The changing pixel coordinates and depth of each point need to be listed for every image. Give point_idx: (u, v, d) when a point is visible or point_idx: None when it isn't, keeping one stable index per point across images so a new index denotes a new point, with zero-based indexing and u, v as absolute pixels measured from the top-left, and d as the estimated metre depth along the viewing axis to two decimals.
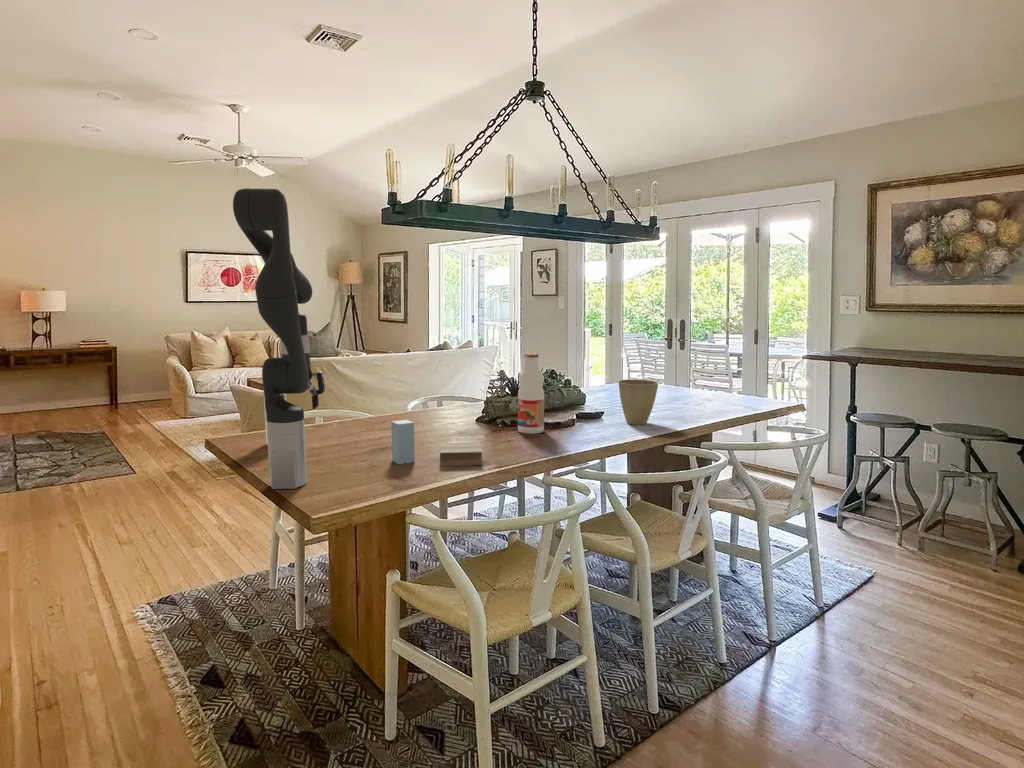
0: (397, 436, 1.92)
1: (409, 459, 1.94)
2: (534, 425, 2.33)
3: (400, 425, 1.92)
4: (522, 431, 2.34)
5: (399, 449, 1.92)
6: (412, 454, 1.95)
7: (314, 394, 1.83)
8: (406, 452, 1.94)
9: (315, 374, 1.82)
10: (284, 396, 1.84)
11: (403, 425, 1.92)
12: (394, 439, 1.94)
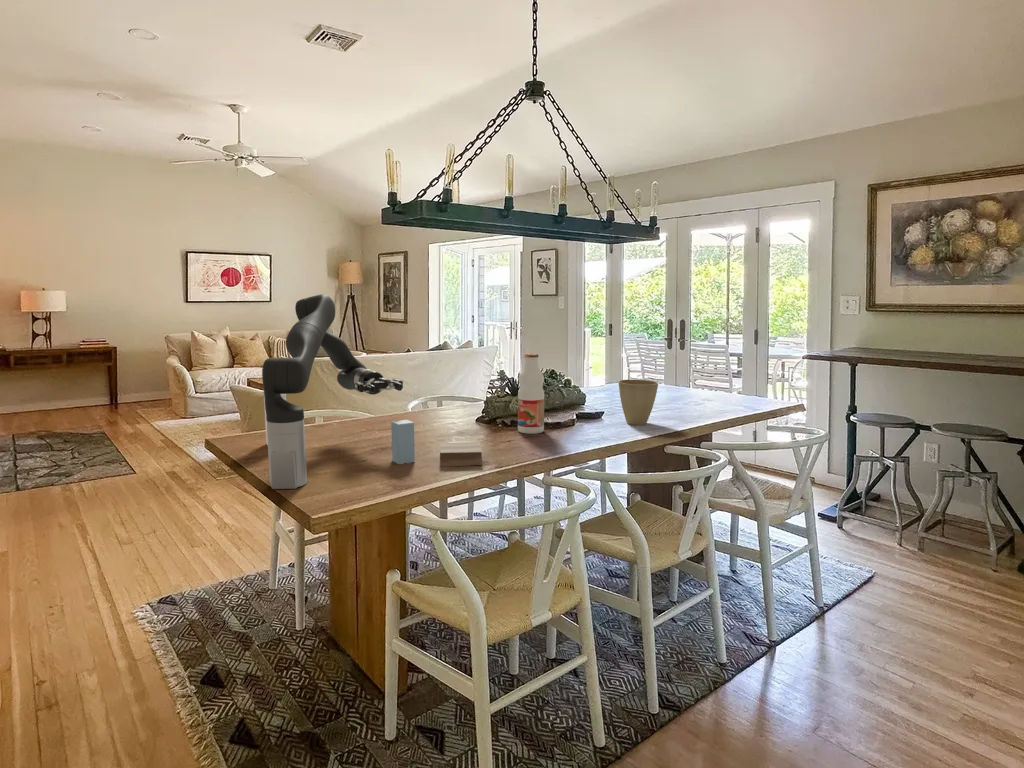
0: (397, 436, 1.92)
1: (409, 459, 1.94)
2: (534, 425, 2.33)
3: (400, 425, 1.92)
4: (522, 431, 2.34)
5: (399, 449, 1.92)
6: (412, 454, 1.95)
7: (396, 381, 2.08)
8: (406, 452, 1.94)
9: None
10: None
11: (403, 425, 1.92)
12: (394, 439, 1.94)
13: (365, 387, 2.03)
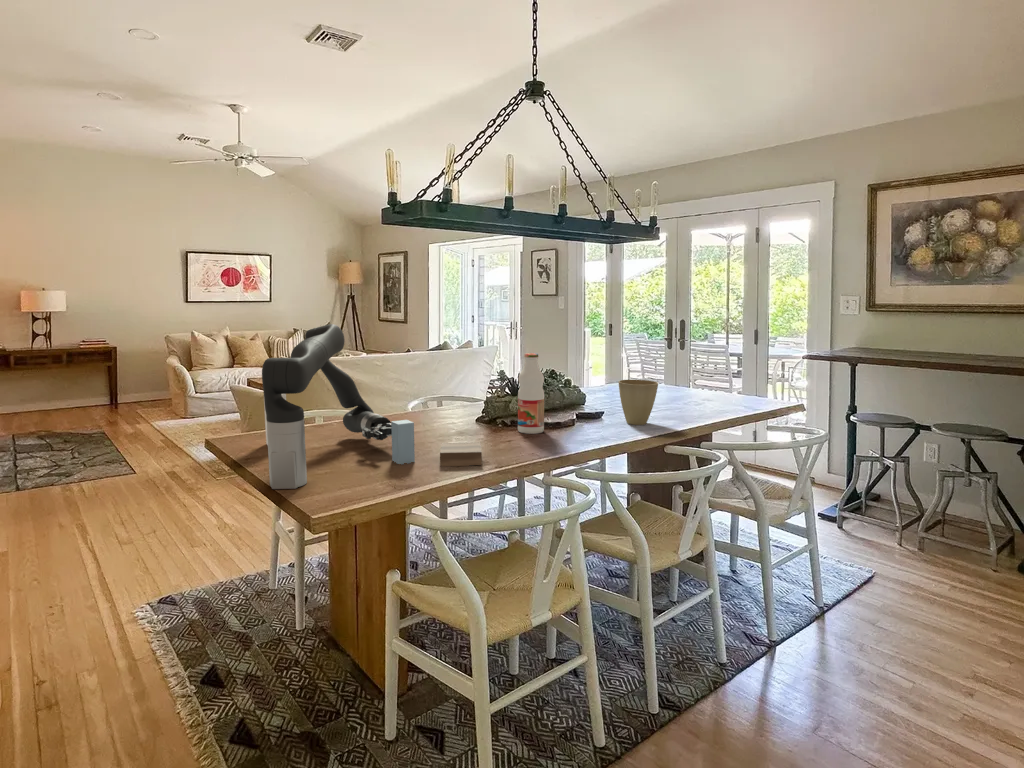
0: (397, 436, 1.92)
1: (409, 459, 1.94)
2: (534, 425, 2.33)
3: (400, 425, 1.92)
4: (522, 431, 2.34)
5: (399, 449, 1.92)
6: (412, 454, 1.95)
7: None
8: (406, 452, 1.94)
9: None
10: None
11: (403, 425, 1.92)
12: (394, 439, 1.94)
13: (373, 434, 2.00)
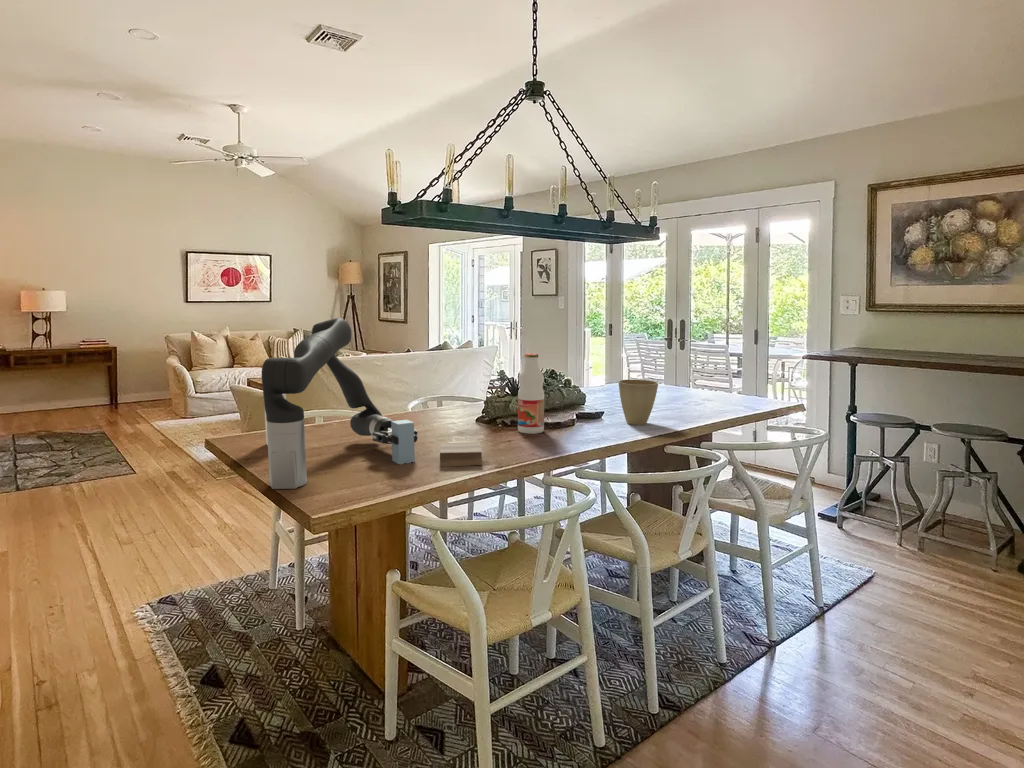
0: (397, 436, 1.92)
1: (409, 459, 1.94)
2: (534, 425, 2.33)
3: (400, 425, 1.92)
4: (522, 431, 2.34)
5: (399, 449, 1.92)
6: (412, 454, 1.95)
7: None
8: (406, 452, 1.94)
9: None
10: None
11: (403, 425, 1.92)
12: None
13: (388, 438, 1.94)
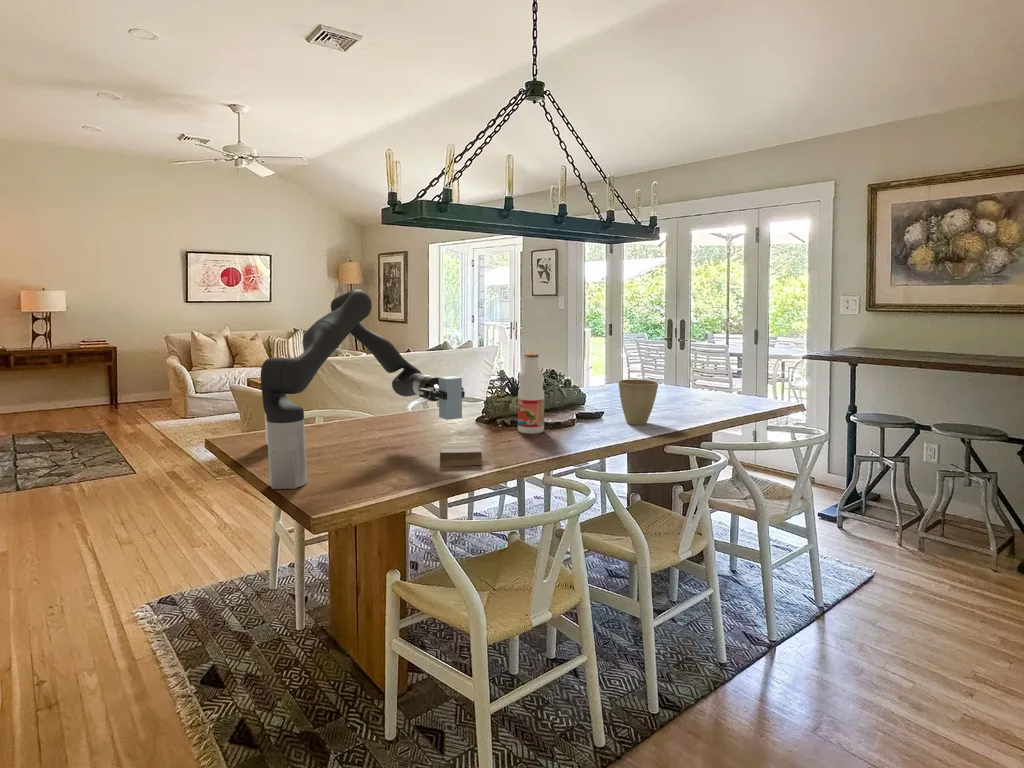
0: (445, 391, 1.92)
1: (457, 414, 1.94)
2: (534, 425, 2.33)
3: (448, 380, 1.91)
4: (522, 431, 2.34)
5: (447, 404, 1.92)
6: (460, 410, 1.95)
7: None
8: (454, 408, 1.94)
9: None
10: None
11: (451, 380, 1.92)
12: None
13: (435, 393, 1.94)
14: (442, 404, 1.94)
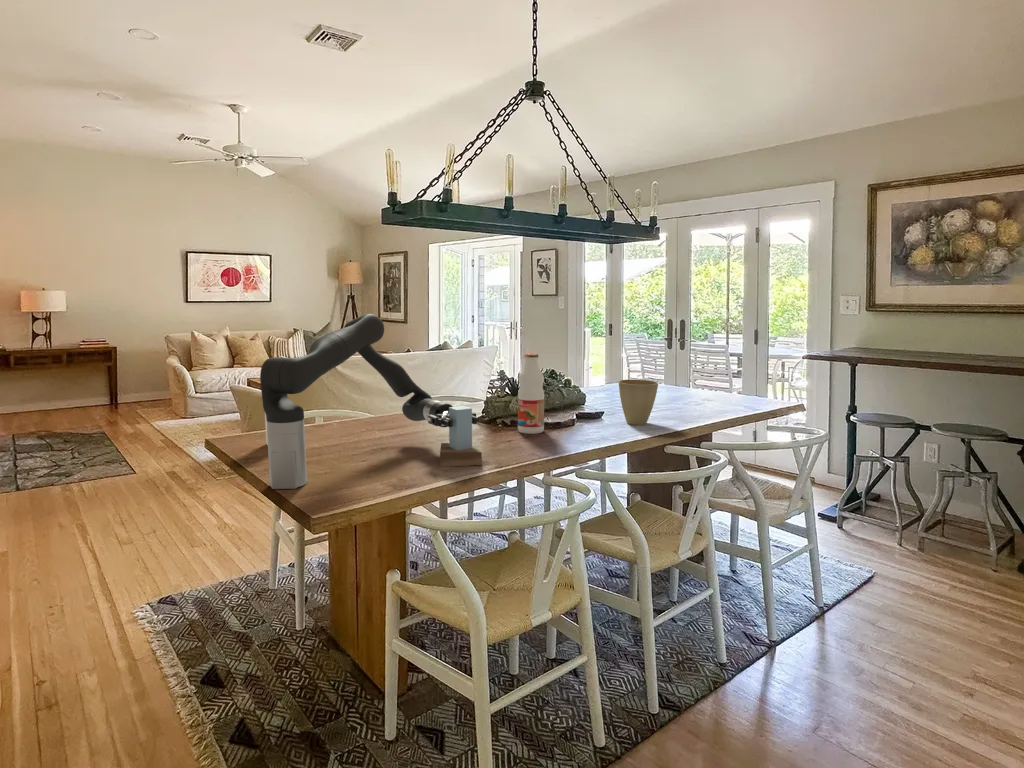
0: (455, 422, 1.93)
1: (467, 444, 1.95)
2: (534, 425, 2.33)
3: (459, 411, 1.92)
4: (522, 431, 2.34)
5: (458, 435, 1.93)
6: (470, 440, 1.95)
7: None
8: (464, 438, 1.94)
9: None
10: None
11: (461, 411, 1.93)
12: None
13: (441, 421, 1.94)
14: (452, 434, 1.95)
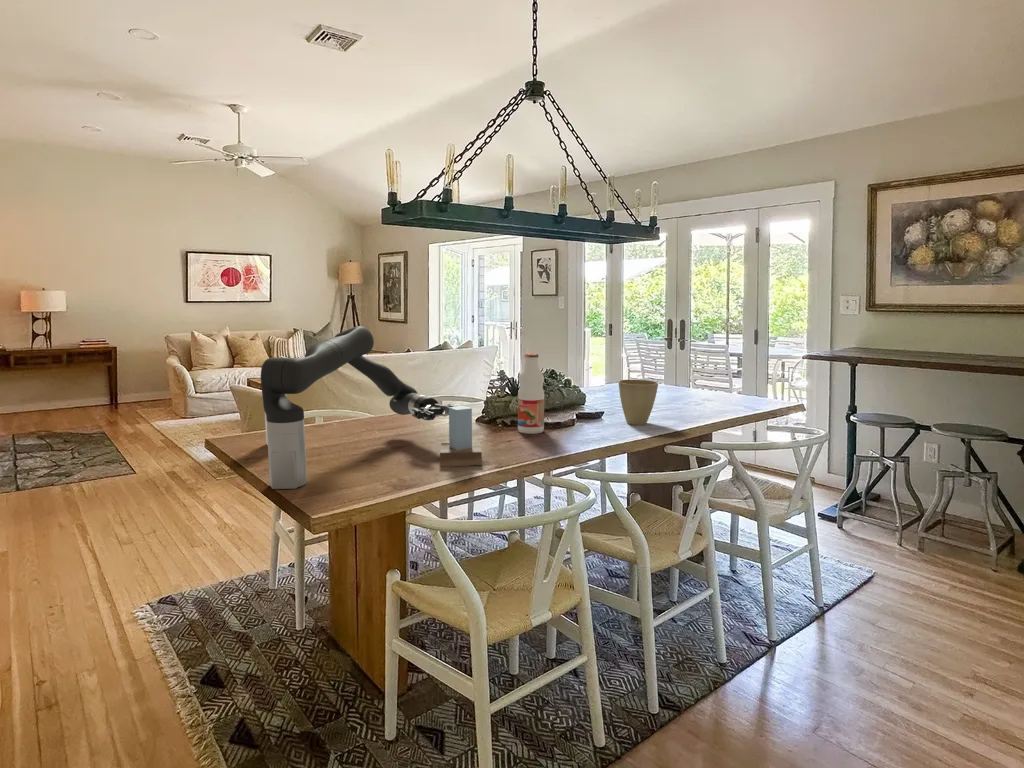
0: (455, 422, 1.93)
1: (467, 444, 1.95)
2: (534, 425, 2.33)
3: (459, 411, 1.92)
4: (522, 431, 2.34)
5: (457, 435, 1.93)
6: (470, 440, 1.95)
7: None
8: (464, 438, 1.94)
9: None
10: None
11: (461, 411, 1.93)
12: (452, 425, 1.95)
13: (423, 414, 2.04)
14: (452, 434, 1.95)
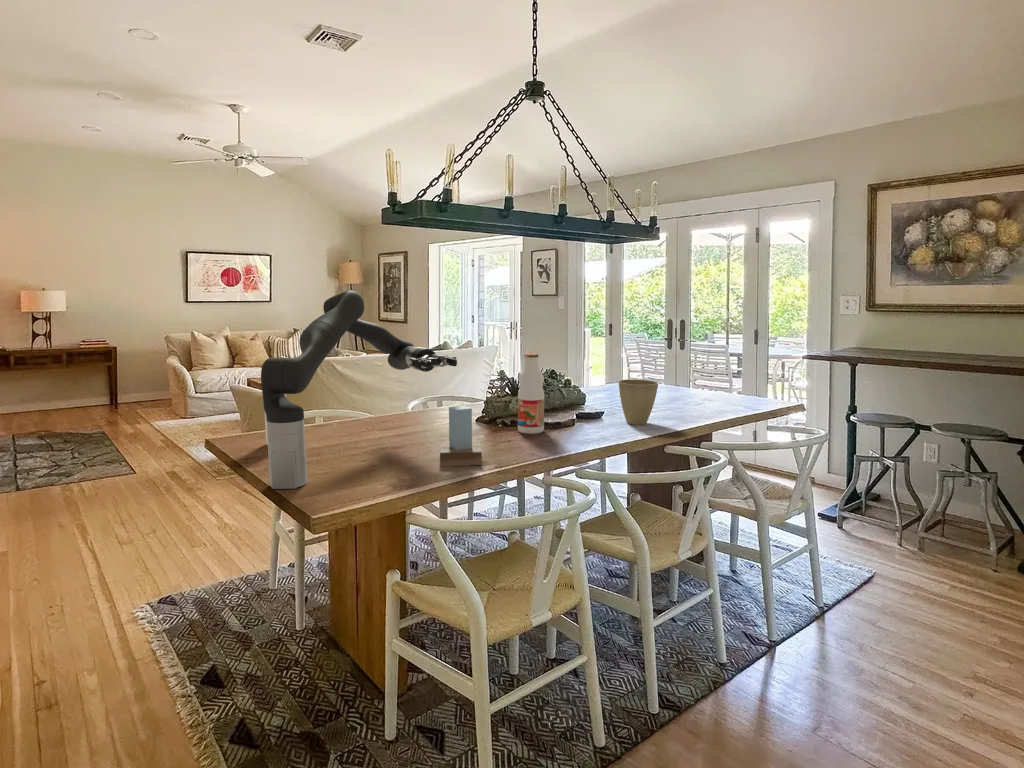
0: (455, 422, 1.93)
1: (467, 444, 1.95)
2: (534, 425, 2.33)
3: (459, 411, 1.92)
4: (522, 431, 2.34)
5: (457, 435, 1.93)
6: (470, 440, 1.95)
7: (450, 357, 2.09)
8: (464, 438, 1.94)
9: None
10: None
11: (461, 411, 1.93)
12: (452, 425, 1.95)
13: (420, 362, 2.03)
14: (452, 434, 1.95)
